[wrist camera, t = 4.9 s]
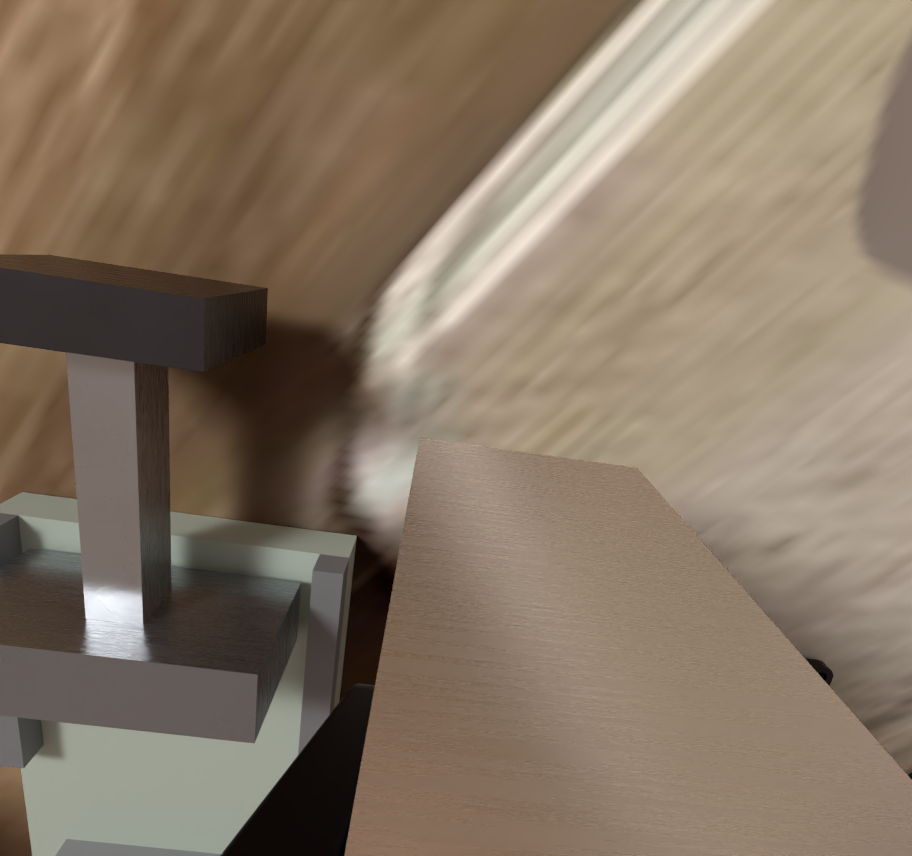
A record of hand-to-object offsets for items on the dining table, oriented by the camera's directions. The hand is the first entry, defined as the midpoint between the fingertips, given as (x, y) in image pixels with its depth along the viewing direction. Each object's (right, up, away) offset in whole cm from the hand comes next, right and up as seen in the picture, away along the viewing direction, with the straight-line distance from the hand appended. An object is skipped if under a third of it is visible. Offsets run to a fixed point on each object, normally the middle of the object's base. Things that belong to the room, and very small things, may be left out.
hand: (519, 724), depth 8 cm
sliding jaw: (-10, +3, +9) cm, 14 cm away
